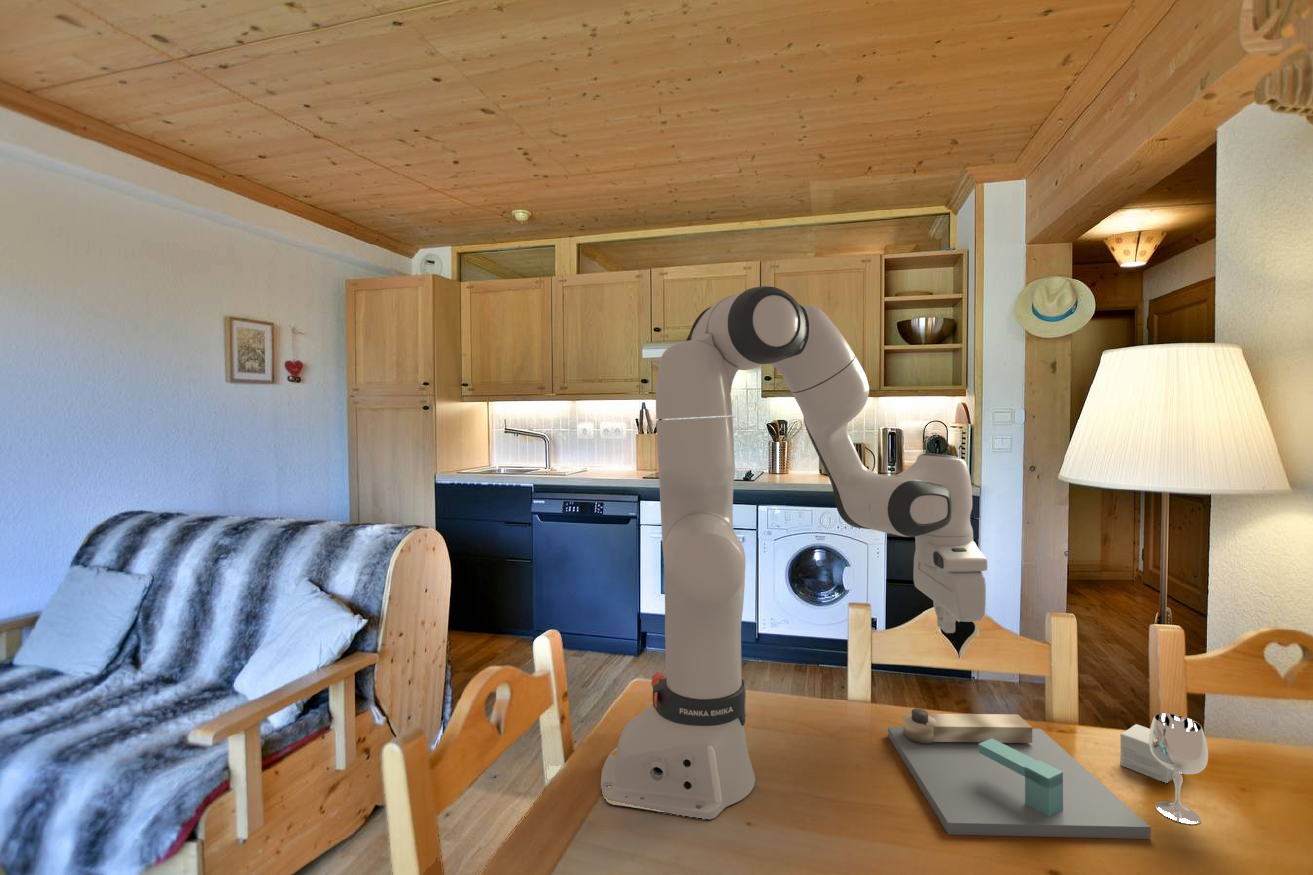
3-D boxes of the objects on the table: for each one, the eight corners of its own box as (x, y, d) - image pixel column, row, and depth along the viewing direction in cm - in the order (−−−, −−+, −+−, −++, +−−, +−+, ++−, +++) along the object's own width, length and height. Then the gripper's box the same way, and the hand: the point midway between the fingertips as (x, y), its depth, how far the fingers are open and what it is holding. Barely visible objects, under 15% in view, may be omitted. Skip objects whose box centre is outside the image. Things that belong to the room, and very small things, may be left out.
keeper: (978, 776, 83) (978, 742, 83) (992, 770, 84) (992, 736, 84) (1049, 816, 74) (1048, 778, 74) (1063, 809, 75) (1062, 771, 75)
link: (910, 742, 91) (909, 719, 91) (899, 726, 96) (899, 704, 96) (1033, 744, 90) (1033, 720, 90) (1016, 727, 94) (1016, 705, 94)
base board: (948, 834, 74) (948, 822, 73) (888, 736, 96) (888, 727, 96) (1150, 838, 72) (1150, 826, 72) (1040, 737, 95) (1040, 728, 95)
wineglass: (1220, 830, 73) (1220, 735, 73) (1166, 825, 74) (1166, 731, 74) (1188, 801, 79) (1188, 712, 78) (1139, 796, 80) (1138, 709, 80)
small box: (1183, 771, 85) (1183, 738, 85) (1167, 785, 82) (1168, 751, 82) (1135, 753, 90) (1135, 722, 90) (1119, 765, 87) (1119, 733, 87)
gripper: (903, 537, 110) (905, 610, 110) (950, 564, 90) (952, 653, 90) (938, 536, 110) (940, 609, 110) (993, 563, 89) (995, 653, 90)
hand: (946, 629), depth 100 cm, fingers closed
